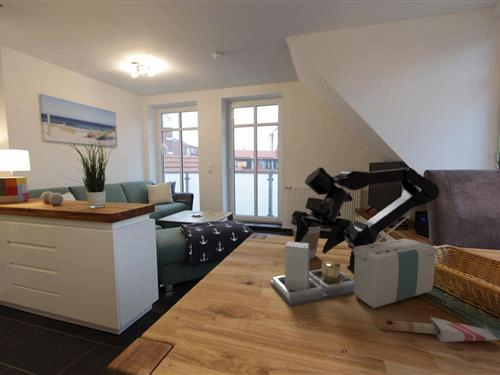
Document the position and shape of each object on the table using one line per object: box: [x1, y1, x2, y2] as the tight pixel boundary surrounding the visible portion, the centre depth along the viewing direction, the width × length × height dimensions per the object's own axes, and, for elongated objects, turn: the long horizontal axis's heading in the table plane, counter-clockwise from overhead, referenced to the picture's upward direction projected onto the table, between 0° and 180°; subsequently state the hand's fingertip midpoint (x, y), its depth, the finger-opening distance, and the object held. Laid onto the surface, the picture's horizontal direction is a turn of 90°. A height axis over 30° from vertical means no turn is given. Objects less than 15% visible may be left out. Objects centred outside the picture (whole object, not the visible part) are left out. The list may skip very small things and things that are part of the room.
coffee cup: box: [290, 213, 322, 260], centre depth 89 cm, size 11×11×15 cm
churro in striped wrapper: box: [377, 316, 499, 343], centre depth 48 cm, size 4×3×20 cm
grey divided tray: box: [269, 260, 354, 307], centre depth 66 cm, size 21×12×6 cm, turn 109°
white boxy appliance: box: [352, 215, 436, 309], centre depth 61 cm, size 21×8×20 cm, turn 112°
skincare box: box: [284, 241, 310, 291], centre depth 64 cm, size 6×4×12 cm
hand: (308, 248), depth 67 cm, fingers open, 9 cm apart
